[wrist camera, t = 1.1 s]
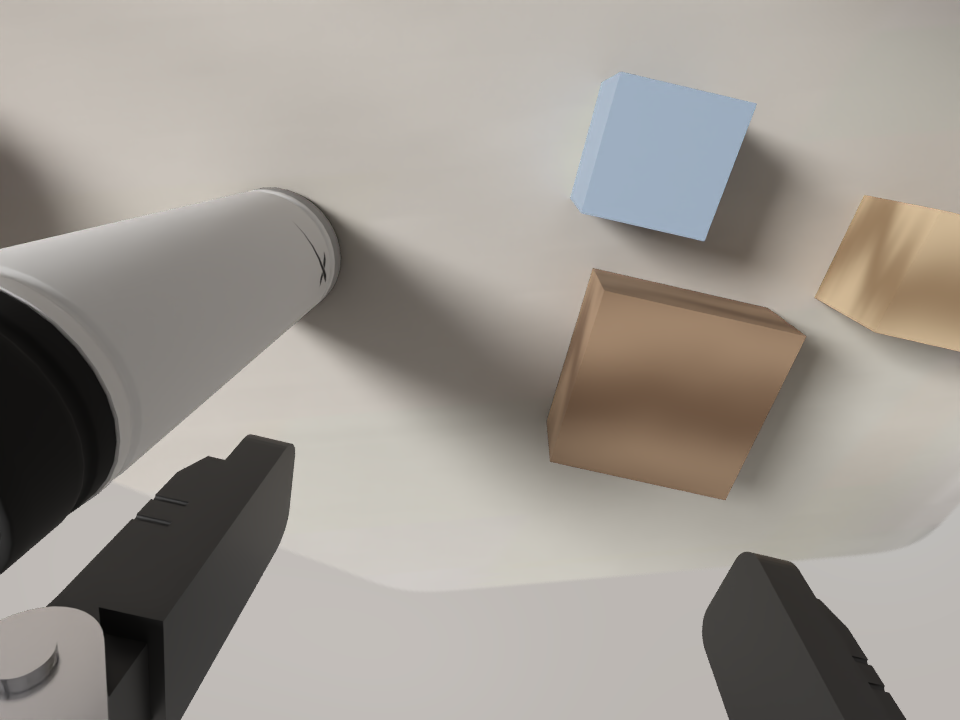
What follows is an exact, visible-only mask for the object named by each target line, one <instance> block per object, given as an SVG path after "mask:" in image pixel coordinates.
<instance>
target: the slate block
mask: <svg viewBox="0 0 960 720" xmlns="http://www.w3.org/2000/svg"><path fill="white" fill-rule="evenodd" d="M756 105H757V104H756V103H752V102H748V101H743V100H739V99H735V98H731V97H726V96H722V95H718V94H714V93H709V92H705V91H701V90H697V89H692V88H688V87H684V86H680V85H675V84H671V83H667V82H663V81H658V80H654V79H650V78H646V77H641V76H637V75H633V74H629V73H624V72H619V73H617V74H616V75H614V76H612V77H610V78H609V79H607V80H605V81H603V82H602V83H601V87H600V90H599V94H598V98H597V101H596V105H595V109H594V113H593V116H592V120H591V124H590V127H589V131H588V135H587V138H586V142H585V146H584V149H583V153H582V157H581V161H580V164H579V168H578V172H577V175H576V179H575V183H574V186H573V190H572V194H571V197H570V198H571V200H572V201H573V203H574V204H575V205H576V207H577V208H578V210H579V211H580V212H581V213H583V214H587V215H592V216H596V217H600V218H605V219H609V220H613V221H618V222H622V223H627V224H631V225H635V226H640V227H644V228H648V229H653V230H657V231H661V232H666V233H670V234H674V235H679V236H683V237H688V238H692V239H696V240H701V241H705V239H706V236H707V233H708V231H709V228H710V225H711V223H712V220H713V218H714V215H715V212H716V210H717V207H718V205H719V202H720V199H721V197H722V194H723V191H724V189H725V186H726V184H727V181H728V178H729V176H730V173H731V170H732V168H733V165H734V163H735V160H736V157H737V155H738V152H739V150H740V147H741V144H742V142H743V139H744V136H745V134H746V131H747V129H748V126H749V123H750V121H751V118H752V115H753V113H754V110H755V108H756Z"/></svg>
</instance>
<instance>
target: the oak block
mask: <svg viewBox="0 0 960 720" xmlns="http://www.w3.org/2000/svg"><path fill="white" fill-rule="evenodd" d="M815 298H816V299H818V300H820V301H821V302H823V303H825V304H826V305H828V306H830V307H832V308H833V309H835V310H837V311H839V312H840V313H842V314H844V315H846V316H847V317H849V318H851V319H852V320H854V321H856V322H858V323H859V324H861V325H863V326H865V327H866V328H868V329H870V330H872V331H873V332H876V333H880V334H885V335H889V336H893V337H898V338H902V339H907V340H911V341H915V342H920V343H924V344H928V345H933V346H937V347H942V348H946V349H950V350H955V351H959V352H960V214H956V213H952V212H947V211H943V210H938V209H933V208H928V207H923V206H918V205H913V204H907V203H902V202H897V201H892V200H887V199H882V198H877V197H871V196H866V195H864V197H863V199H862V201H861V203H860V205H859V207H858V209H857V212H856V214H855V216H854V218H853V220H852V222H851V224H850V226H849V228H848V230H847V232H846V234H845V236H844V238H843V240H842V242H841V244H840V246H839V249H838V251H837V253H836V255H835V257H834V259H833V261H832V263H831V265H830V267H829V269H828V271H827V273H826V275H825V277H824V279H823V281H822V283H821V286H820V288H819V290H818V292H817V294H816V296H815Z"/></svg>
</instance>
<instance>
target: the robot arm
mask: <svg viewBox="0 0 960 720" xmlns="http://www.w3.org/2000/svg"><path fill="white" fill-rule="evenodd" d="M294 459H295V447H294V445H293V444H290V443H286V442H282V441H277V440H273V439H269V438H265V437H260V436H256V435H251V434H250V435H247V436H246V437H245V438H244V439H243V440H242V441H241V442H240V444H239V445H238V446H237V447H236V448H235V449H234V450H233V452H232V453H231V454H230V455H229V456H228V457H227V459H226V460H222V459H218V458H214V457H209V456H207V457H206V458H204V459H202V460H200V461H198V462H196V463H194V464H192V465H190V466H188V467H186V468H184V469H182V470H181V471H179V472H177V473H176V474H175V475H174V476H173V477H172V478H171V479H170V480H169V481H168V482H167V483H166V484H165V485H164V486H163V488H162V489H161V490H160V491H159V492H158V493H157V494H156V495H155V498H154V500H152V499H151V500H150V501H149V502H148V503H147V504H146V505H145V506H144V507H143V508H142V509H141V511H139V512H138V513H137V516H136V518H135V519H132V520H131V521H130V522H129V523H128V524H127V525H126V526H125V527H124V528H123V529H122V530H121V531H120V532H119V533H118V534H117V535H116V536H115V537H114V538H113V540H111V541H110V542H109V543H108V544H107V545H106V547H104V549H103V550H102V551H101V552H100V553H99V554H98V555H97V556H96V557H95V558H94V559H93V560H92V561H91V562H90V563H89V564H88V565H87V566H86V567H85V568H84V569H83V570H82V571H81V572H80V573H79V574H78V576H76V577H75V579H74V580H73V581H72V582H71V583H70V584H69V585H68V586H67V587H66V588H65V589H64V590H63V591H62V592H61V593H60V594H59V595H58V596H57V597H56V598H55V599H54V600H53V601H52V602H51V603H50V604H48V605H47V606H46V607H43V608H37V609H32V610H27V611H24V612H20V613H17V614H14V615H11V616H9V617H6V618H4V619H2V620H0V720H181V718H182V716H183V714H184V713H185V711H186V709H187V707H188V706H189V704H190V702H191V700H192V699H193V697H194V695H195V693H196V691H197V690H198V688H199V686H200V684H201V683H202V681H203V679H204V677H205V676H206V674H207V672H208V670H209V669H210V667H211V665H212V663H213V661H214V660H215V658H216V656H217V654H218V652H219V651H220V649H221V647H222V645H223V644H224V642H225V640H226V638H227V637H228V635H229V633H230V631H231V630H232V628H233V626H234V624H235V622H236V621H237V619H238V617H239V615H240V614H241V612H242V610H243V608H244V606H245V605H246V603H247V601H248V599H249V598H250V596H251V594H252V592H253V591H254V589H255V587H256V585H257V584H258V582H259V580H260V578H261V576H262V575H263V573H264V571H265V569H266V567H267V565H268V564H269V562H270V560H271V559H272V557H273V555H274V553H275V552H276V550H277V548H278V546H279V544H280V541H281V539H282V536H283V534H284V531H285V528H286V524H287V520H288V515H289V508H290V498H291V488H292V479H293V469H294ZM702 627H703V628H702V636H703V644H704V648H705V651H706V654H707V657H708V660H709V663H710V665H711V668H712V671H713V674H714V677H715V680H716V683H717V686H718V689H719V692H720V694H721V697H722V700H723V703H724V706H725V709H726V711H727V714H728V717H729V720H906V718H905V717H904V715H903V714H902V712H901V711H900V709H899V707H898V706H897V704H896V703H895V701H894V700H893V698H892V696H891V695H890V693H888V692H885V691H884V684H883V683H882V681H881V679H880V678H879V676H878V675H877V673H876V672H875V670H874V668H873V667H872V666H871V665H868V664H867V660H868V659H867V657H866V656H865V654H864V653H863V651H862V650H861V648H860V647H859V645H858V644H857V642H856V640H855V639H854V637H853V636H852V634H851V632H850V631H849V629H848V628H847V627H846V626H845V625H844V624H843V623H842V622H841V621H840V620H839V619H838V618H837V617H836V616H835V615H834V614H833V613H832V612H831V611H830V610H829V609H828V607H827V606H826V605H824V603H823V602H822V601H820V600H819V599H816V597H815V595H814V594H813V592H812V590H811V589H810V587H809V586H808V584H807V582H806V581H805V579H804V578H803V576H802V574H801V573H800V571H799V569H798V568H797V567H796V566H795V565H794V564H793V563H791V562H789V561H786V560H781V559H777V558H773V557H768V556H764V555H760V554H756V553H751V552H744V553H742V554H740V555H739V556H738V557H737V558H736V560H735V562H734V563H733V565H732V567H731V569H730V570H729V572H728V574H727V575H726V577H725V579H724V580H723V582H722V584H721V586H720V587H719V589H718V591H717V592H716V595H715V596H714V598H713V599H712V601H711V603H710V604H709V606H708V608H707V610H706V613H705V616H704V619H703V626H702Z"/></svg>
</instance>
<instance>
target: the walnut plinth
mask: <svg viewBox="0 0 960 720" xmlns="http://www.w3.org/2000/svg"><path fill="white" fill-rule="evenodd" d="M805 338H806V336H805V335H804V334H803V333H801V332H800V331H798V330H797V329H796V328H794V327H793V326H792V325H790V324H789V323H787V322H786V321H785V320H783V319H782V318H781V317H779V316H778V315H777V314H775V313H774V312H772V311H771V310H770V309H768V308H766V307H761V306H757V305H752V304H748V303H744V302H739V301H735V300H730V299H726V298H722V297H717V296H713V295H708V294H704V293H700V292H695V291H691V290H687V289H682V288H678V287H673V286H669V285H665V284H660V283H656V282H651V281H647V280H643V279H638V278H634V277H629V276H625V275H621V274H616V273H612V272H607V271H603V270H599V269H594V268H593V270H592V273H591V276H590V280H589V283H588V286H587V290H586V293H585V296H584V299H583V303H582V306H581V309H580V313H579V316H578V319H577V322H576V326H575V329H574V332H573V336H572V339H571V342H570V346H569V349H568V352H567V355H566V359H565V362H564V365H563V369H562V372H561V375H560V379H559V382H558V385H557V388H556V392H555V395H554V398H553V402H552V405H551V408H550V412H549V415H548V418H547V433H548V444H549V455H550V462H554V463H559V464H563V465H568V466H572V467H577V468H581V469H586V470H590V471H595V472H600V473H604V474H609V475H613V476H618V477H622V478H627V479H631V480H636V481H641V482H645V483H650V484H654V485H659V486H663V487H668V488H672V489H677V490H681V491H686V492H691V493H695V494H700V495H704V496H709V497H713V498H718V499H722V500H726V498H727V496H728V494H729V492H730V490H731V488H732V486H733V483H734V481H735V479H736V477H737V475H738V473H739V471H740V469H741V467H742V465H743V463H744V461H745V459H746V457H747V455H748V453H749V451H750V449H751V447H752V445H753V443H754V441H755V439H756V437H757V435H758V433H759V431H760V429H761V427H762V425H763V423H764V421H765V419H766V417H767V415H768V413H769V411H770V409H771V407H772V405H773V403H774V401H775V399H776V397H777V395H778V393H779V391H780V389H781V387H782V384H783V382H784V380H785V378H786V376H787V374H788V372H789V370H790V368H791V366H792V364H793V362H794V360H795V358H796V356H797V354H798V352H799V350H800V348H801V346H802V344H803V342H804V340H805Z"/></svg>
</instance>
